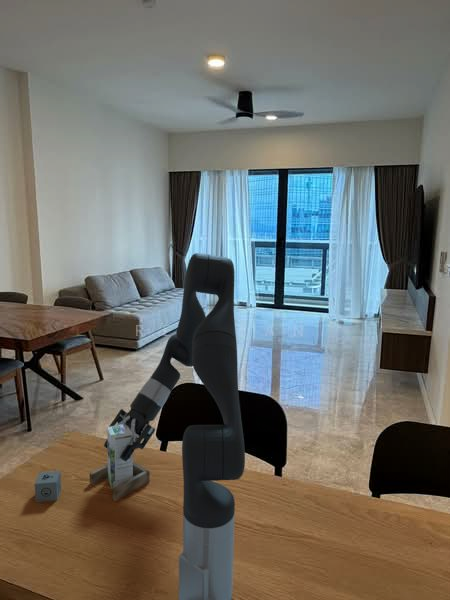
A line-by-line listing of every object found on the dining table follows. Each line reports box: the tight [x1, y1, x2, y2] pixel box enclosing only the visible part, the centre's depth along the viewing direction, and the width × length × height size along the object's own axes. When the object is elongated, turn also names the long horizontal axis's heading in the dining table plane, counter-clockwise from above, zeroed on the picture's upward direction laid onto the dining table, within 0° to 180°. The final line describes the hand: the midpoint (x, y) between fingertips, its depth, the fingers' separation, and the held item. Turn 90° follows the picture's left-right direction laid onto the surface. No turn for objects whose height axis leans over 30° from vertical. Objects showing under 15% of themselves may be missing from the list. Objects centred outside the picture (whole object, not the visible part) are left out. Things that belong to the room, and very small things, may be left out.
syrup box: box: [106, 424, 134, 489], centre depth 113 cm, size 6×6×14 cm
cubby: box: [89, 461, 151, 502], centre depth 114 cm, size 11×11×3 cm
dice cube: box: [34, 470, 62, 503], centre depth 108 cm, size 5×5×5 cm
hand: (114, 453), depth 111 cm, fingers open, 7 cm apart
